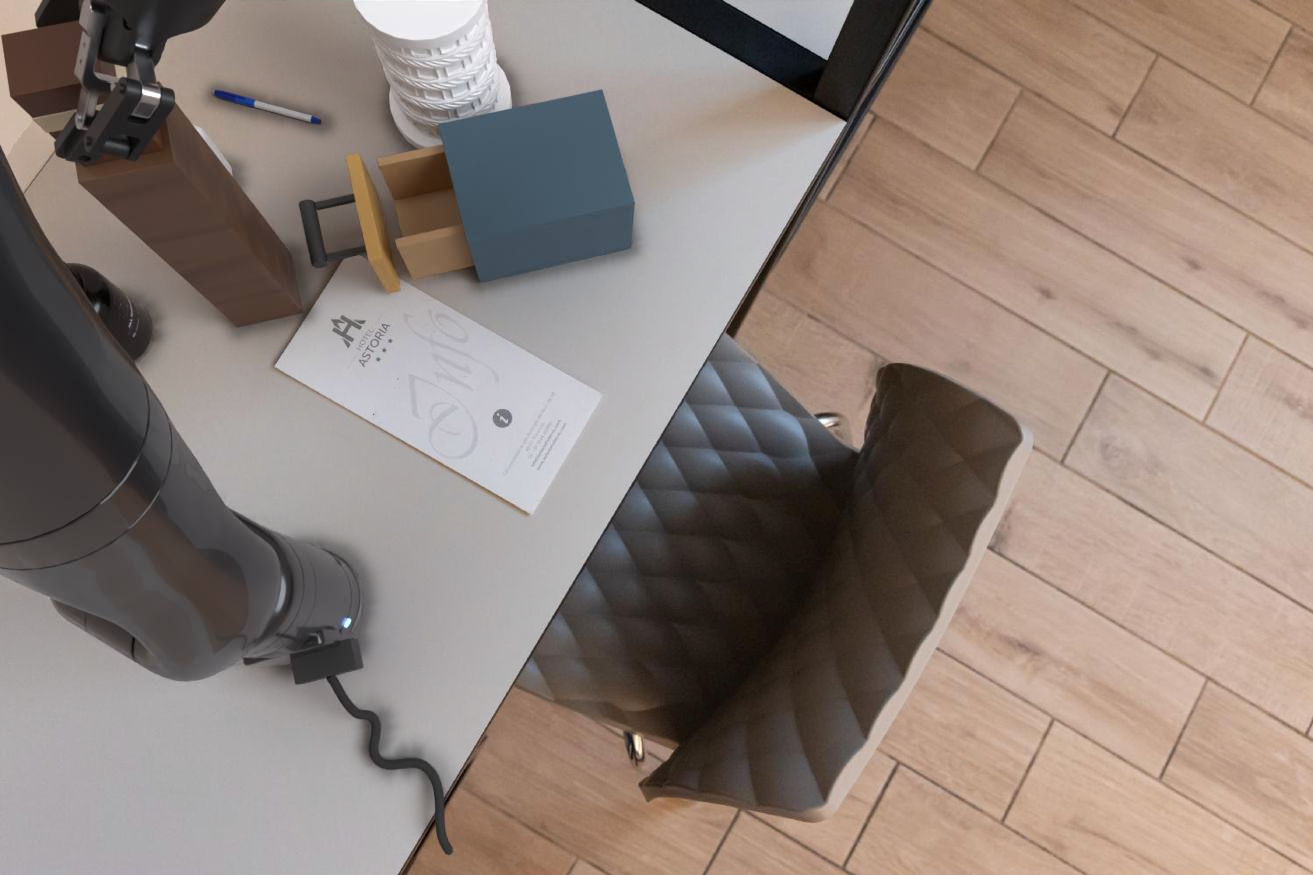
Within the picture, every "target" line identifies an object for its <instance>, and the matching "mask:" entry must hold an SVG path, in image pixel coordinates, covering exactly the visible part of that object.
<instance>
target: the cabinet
mask: <svg viewBox="0 0 1313 875" xmlns="http://www.w3.org/2000/svg"><path fill="white" fill-rule="evenodd" d="M608 107H609V106H608V104H607V100H606V97H605V93H604V89H598V90H593V91H587V92H582V93H578V94H573V95H569V96H564V97H559V98H554V99H550V100H545V101H540V102H535V103H530V104H525V105H522V106H517V107H516V106H515V107H512V108H511V109H507V110H502V111H497V112H492V113H488V114H483V115H478V116H473V117H469V118H464V119H459V120H455V121H450V122H445V123H440V124H438V127H439V131H440V135H441V139H442V143H443V147H444V151H445V155H446V159H447V163H448V167H449V171H450V175H451V180H452V184H453V188H454V192H455V196H456V200H457V204H458V208H459V212H460V216H461V220H462V224H463V228H464V232H465V236H466V240H467V244H468V247H469V250H470V253H471V256H472V259H473V262H474V268H475V271H476V275H477V277H478V278H477V279H478V280H479V283H486V282H491V281H495V280H499V279H503V278H509V277H513V276H516V275H521V274H526V273H530V272H533V271H538V270H539V271H540V270H543V269H547V268H553V267H556V266H560V265H564V264H569V263H572V262H573V263H574V262H578V261H582V260H586V259H590V258H594V257H595V258H596V257H599V256H604V255H607V254H612V253H613V254H614V253H617V252H621V251H624V250H625V251H626V250H630V249H632V245H633V234H634V233H633V232H634V218H635V206H636V205H635V203H636V201H635V198H634V195H633V192H632V188H631V184H630V180H629V177H628V174H627V170H626V167H625V163H624V159H623V156H622V153H621V149H620V146H619V143H618V139H617V136H616V131H615V128H614V125H613V120H612V117H611V114H610V111H609V108H608Z"/></svg>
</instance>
